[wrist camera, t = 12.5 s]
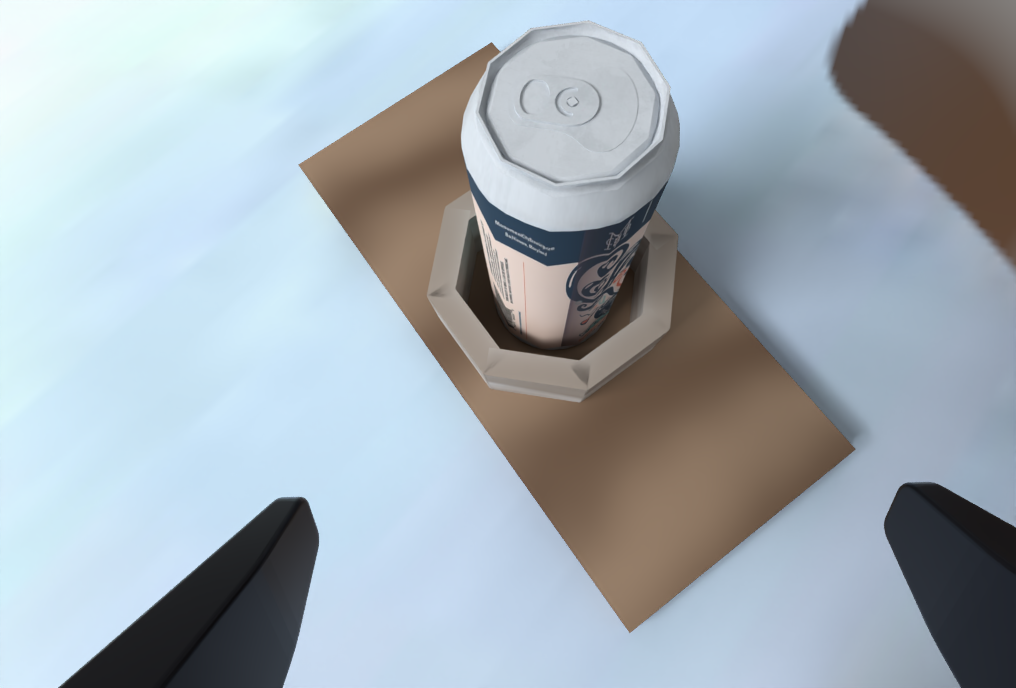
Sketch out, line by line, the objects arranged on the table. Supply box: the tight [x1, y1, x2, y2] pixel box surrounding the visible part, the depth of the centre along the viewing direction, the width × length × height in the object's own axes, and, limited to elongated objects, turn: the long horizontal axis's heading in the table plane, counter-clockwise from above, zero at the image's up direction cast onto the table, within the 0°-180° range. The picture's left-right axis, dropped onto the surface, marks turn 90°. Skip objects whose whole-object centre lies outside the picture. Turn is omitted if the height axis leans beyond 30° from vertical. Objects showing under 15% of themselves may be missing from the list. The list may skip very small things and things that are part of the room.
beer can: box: [461, 20, 680, 350], centre depth 16 cm, size 5×5×12 cm
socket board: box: [299, 42, 855, 633], centre depth 21 cm, size 24×11×4 cm, turn 36°
